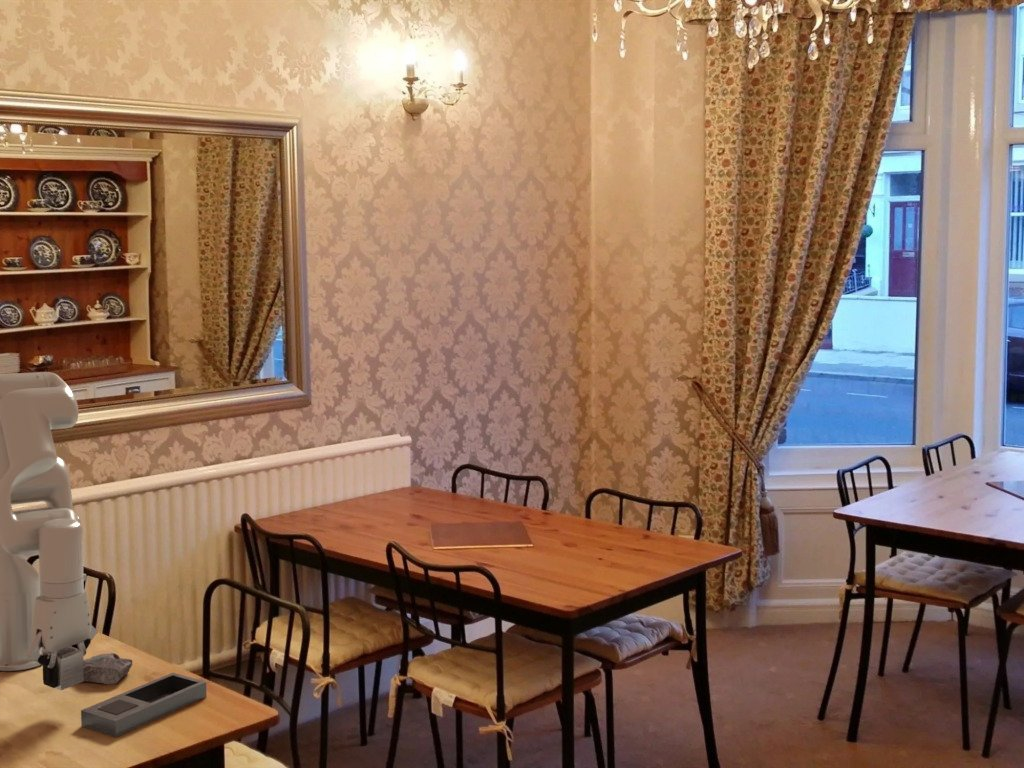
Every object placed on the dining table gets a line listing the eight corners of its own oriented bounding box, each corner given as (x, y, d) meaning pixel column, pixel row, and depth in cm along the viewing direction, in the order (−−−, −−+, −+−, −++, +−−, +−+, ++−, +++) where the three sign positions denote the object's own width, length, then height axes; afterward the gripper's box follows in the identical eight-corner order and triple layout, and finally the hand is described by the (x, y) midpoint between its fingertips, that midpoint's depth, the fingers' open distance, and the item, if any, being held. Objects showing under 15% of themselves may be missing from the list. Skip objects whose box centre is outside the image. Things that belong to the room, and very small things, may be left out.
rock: (82, 669, 240) (82, 648, 239) (136, 672, 239) (136, 650, 238) (64, 684, 232) (64, 662, 231) (120, 687, 231) (120, 665, 230)
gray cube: (43, 683, 216) (42, 651, 215) (65, 674, 221) (65, 643, 219) (61, 690, 214) (60, 658, 213) (83, 681, 218) (83, 649, 217)
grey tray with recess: (81, 726, 212) (80, 709, 211) (173, 687, 231) (172, 672, 230) (115, 737, 207) (115, 720, 207) (206, 696, 226) (206, 681, 226)
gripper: (85, 570, 223) (87, 661, 226) (7, 595, 209) (10, 691, 212) (113, 578, 220) (114, 670, 223) (35, 604, 205) (37, 701, 208)
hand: (63, 679), depth 217 cm, fingers closed on gray cube, 5 cm apart
